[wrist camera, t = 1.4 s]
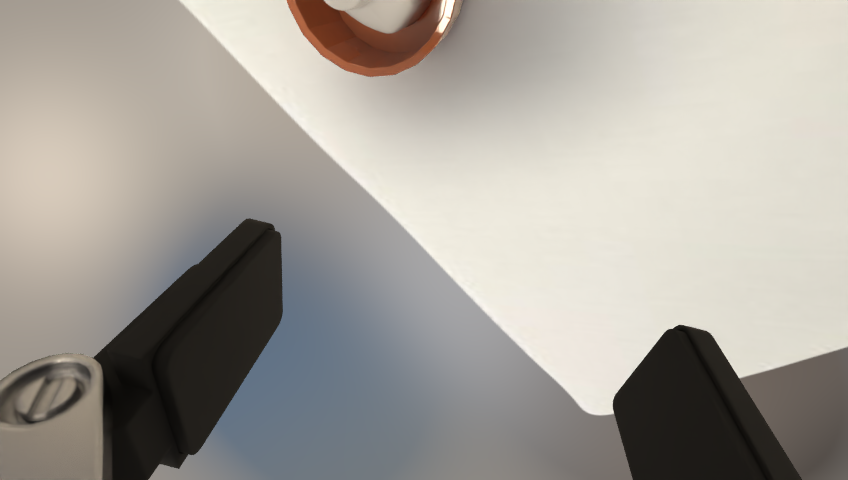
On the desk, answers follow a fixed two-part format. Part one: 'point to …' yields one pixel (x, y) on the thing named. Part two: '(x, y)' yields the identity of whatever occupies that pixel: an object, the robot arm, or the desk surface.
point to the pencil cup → (372, 37)
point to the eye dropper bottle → (383, 12)
